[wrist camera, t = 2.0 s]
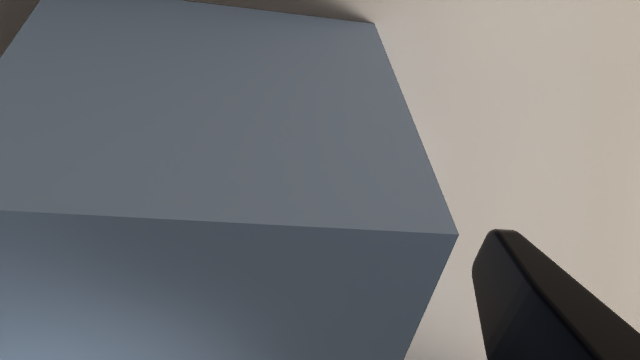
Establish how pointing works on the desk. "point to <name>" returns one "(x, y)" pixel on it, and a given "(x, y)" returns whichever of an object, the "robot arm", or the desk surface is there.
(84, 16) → the blue cube
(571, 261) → the desk surface
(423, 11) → the desk surface
